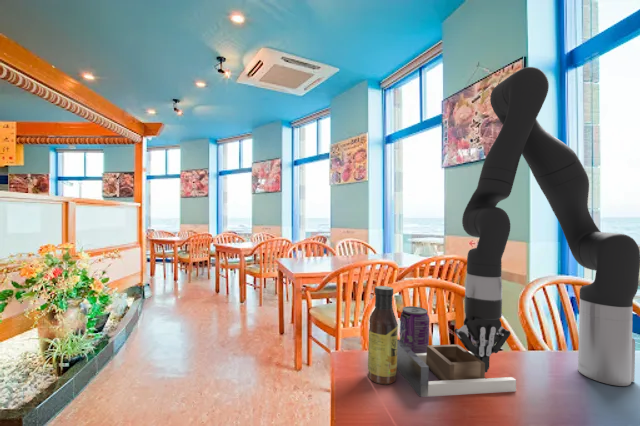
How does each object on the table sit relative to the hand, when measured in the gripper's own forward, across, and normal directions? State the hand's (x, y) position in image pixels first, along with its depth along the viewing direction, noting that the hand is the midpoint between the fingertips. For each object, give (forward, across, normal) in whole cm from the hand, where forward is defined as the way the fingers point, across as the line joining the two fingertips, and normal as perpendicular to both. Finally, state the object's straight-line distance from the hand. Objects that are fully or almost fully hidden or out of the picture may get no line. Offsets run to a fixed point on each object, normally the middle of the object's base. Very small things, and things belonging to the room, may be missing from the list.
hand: (481, 370), depth 73 cm
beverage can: (+1, +11, -11) cm, 16 cm away
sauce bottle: (+1, +23, -1) cm, 23 cm away
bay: (+1, +8, 0) cm, 8 cm away
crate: (+1, +7, 0) cm, 7 cm away
